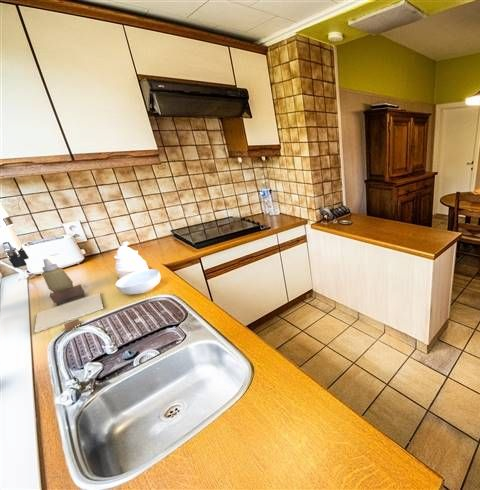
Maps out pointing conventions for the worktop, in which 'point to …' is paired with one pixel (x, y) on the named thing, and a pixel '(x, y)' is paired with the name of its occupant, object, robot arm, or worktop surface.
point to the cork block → (72, 325)
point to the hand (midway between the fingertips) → (22, 262)
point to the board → (68, 312)
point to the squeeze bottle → (55, 277)
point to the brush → (67, 295)
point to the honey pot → (128, 261)
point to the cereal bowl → (139, 282)
